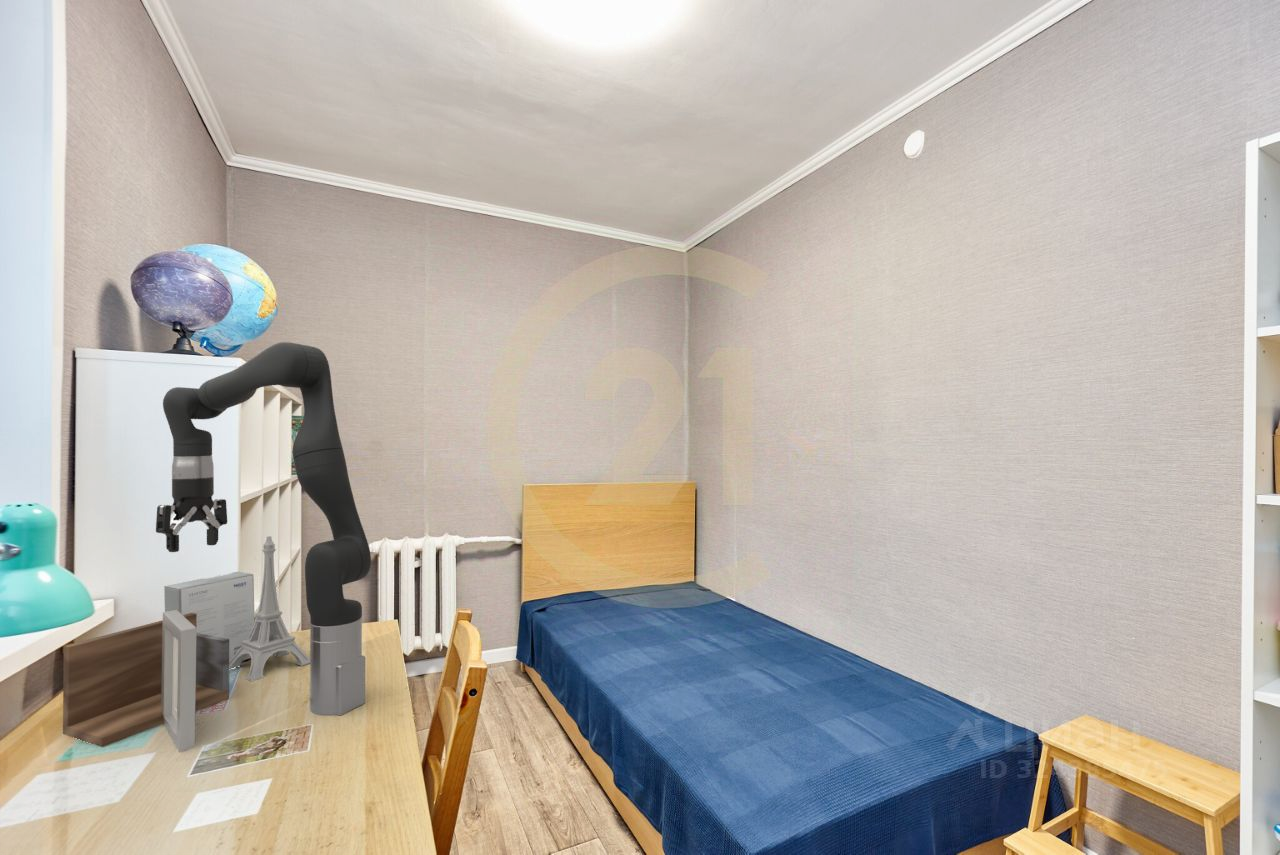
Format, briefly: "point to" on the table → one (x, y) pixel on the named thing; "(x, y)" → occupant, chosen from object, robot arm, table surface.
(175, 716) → the picture frame
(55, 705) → the table surface
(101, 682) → the walnut shelf
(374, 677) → the table surface
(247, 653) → the eiffel tower
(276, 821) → the table surface
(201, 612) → the hard drive box
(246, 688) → the table surface
